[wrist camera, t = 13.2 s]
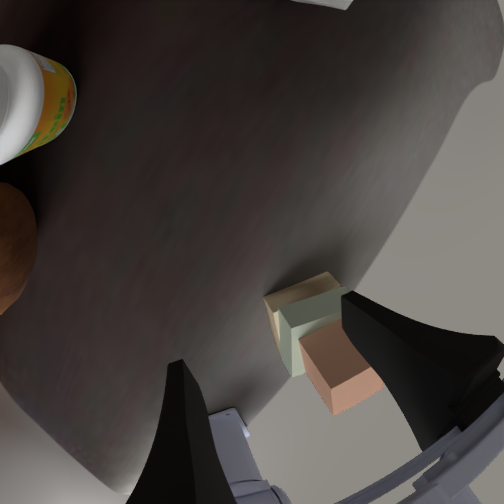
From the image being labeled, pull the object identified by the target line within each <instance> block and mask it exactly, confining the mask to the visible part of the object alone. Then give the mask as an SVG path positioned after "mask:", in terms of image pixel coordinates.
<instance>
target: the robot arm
mask: <svg viewBox="0 0 504 504" xmlns="http://www.w3.org/2000/svg"><path fill="white" fill-rule="evenodd" d="M341 316H342V329H343V330H344V332H345V333H346V335H347V337H348V338H349V340H350V341H351V343H352V344H353V346H354V347H355V348H356V349H357V351H358V352H359V353H360V354H361V355H362V357H363V358H364V359H365V360H366V361H367V363H368V364H369V365H370V366H371V367H372V368H373V370H374V371H375V372H376V373H377V374H378V376H379V377H380V378H381V379H382V381H383V382H384V383H385V385H386V386H387V388H388V390H389V391H390V393H391V394H392V396H393V397H394V399H395V400H396V402H397V404H398V406H399V407H400V409H401V411H402V412H403V414H404V416H405V418H406V420H407V422H408V423H409V425H410V427H411V429H412V431H413V433H414V435H415V437H416V439H417V442H418V444H419V446H420V448H421V450H422V451H423V452H422V453H421V454H419V455H418V456H416V457H415V458H414V459H412V460H410V461H409V462H407V463H406V464H404V465H403V466H401V467H400V468H398V469H397V470H395V471H394V472H392V473H391V474H389V475H387V476H386V477H384V478H382V479H380V480H379V481H377V482H375V483H373V484H372V485H370V486H368V487H366V488H364V489H362V490H361V491H359V492H357V493H355V494H353V495H351V496H349V497H347V498H345V499H343V500H341V501H339V502H337V503H335V504H368V503H370V502H372V501H373V500H375V499H377V498H379V497H381V496H382V495H384V494H386V493H387V492H389V491H391V490H392V489H394V488H396V487H397V486H399V485H400V484H402V483H404V482H405V481H407V480H408V479H410V478H411V477H413V476H414V475H416V474H417V473H418V472H420V471H421V470H423V469H424V468H426V467H427V466H428V465H429V464H431V463H432V462H434V461H435V460H436V459H438V458H439V457H440V456H441V457H440V460H439V461H438V462H437V463H436V464H435V465H434V466H432V467H431V468H430V469H428V470H427V471H426V472H424V473H423V475H422V476H421V477H420V478H419V479H417V480H416V481H415V482H414V483H413V487H414V488H415V489H416V491H415V492H414V493H412V494H411V495H409V496H408V497H406V498H405V499H403V500H402V501H400V502H398V503H397V504H481V502H480V501H479V500H478V498H477V497H476V495H475V494H474V493H473V491H472V490H471V489H470V487H469V486H468V485H469V484H470V483H471V482H472V481H473V480H474V479H475V478H476V477H477V476H479V474H481V473H482V472H483V471H484V469H486V467H487V466H488V465H489V464H490V463H491V462H492V461H493V460H494V459H495V458H496V457H497V456H498V455H499V454H500V452H501V451H502V450H503V449H504V378H503V380H501V379H500V378H499V376H500V372H499V371H498V370H497V368H498V366H499V364H500V362H501V361H502V359H503V357H504V344H503V343H501V341H499V340H498V339H497V338H496V337H495V336H487V335H473V334H465V333H459V332H454V331H449V330H445V329H440V328H437V327H433V326H430V325H427V324H424V323H421V322H418V321H415V320H413V319H410V318H408V317H405V316H403V315H401V314H398V313H396V312H394V311H392V310H390V309H388V308H385V307H384V306H382V305H380V304H377V303H375V302H374V301H371V300H370V299H368V298H366V297H364V296H362V295H360V294H358V293H356V292H354V291H350V292H348V293H346V294H344V295H341ZM248 436H250V433H249V431H248V429H247V428H246V426H245V424H244V423H243V421H242V419H241V417H240V416H239V414H238V412H237V411H236V409H235V408H230V409H227V410H225V411H222V412H219V413H216V414H213V415H210V416H208V413H207V409H206V405H205V402H204V399H203V396H202V393H201V390H200V387H199V385H198V383H197V382H196V380H195V378H194V377H193V375H192V374H191V372H190V370H189V369H188V367H187V366H186V364H185V362H184V361H183V359H181V360H178V361H175V362H172V363H169V364H168V367H167V378H166V386H165V393H164V399H163V404H162V410H161V414H160V419H159V423H158V428H157V431H156V435H155V438H154V442H153V445H152V448H151V451H150V454H149V456H148V459H147V462H146V464H145V467H144V469H143V471H142V473H141V476H140V478H139V480H138V482H137V484H136V486H135V488H134V490H133V492H132V493H131V495H130V497H129V499H128V500H127V502H126V504H291V501H290V499H289V498H288V496H287V494H286V493H285V492H284V491H283V490H282V489H281V488H279V487H277V486H275V485H271V486H270V485H269V483H268V480H262V477H261V475H260V472H259V470H258V468H257V465H256V463H255V460H254V458H253V455H252V453H251V450H250V448H249V445H248V443H247V440H246V437H248Z"/></svg>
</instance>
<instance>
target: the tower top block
mask: <svg viewBox="0 0 504 504" xmlns="http://www.w3.org/2000/svg"><path fill="white" fill-rule="evenodd" d="M348 292H350V290H349V289H348V288H347V287H346V286H343V287H340V288H337V289H334V290H331V291H328V292H325V293H322V294H319V295H316V296H313V297H310V298H307V299H304V300H301V301H298V302H295V303H291V304H288V305H285V306H282V307H278V317H279V334H280V351H281V359H282V361H283V363H284V365H285V366H286V368H287V370H288V372H289V374H290V375H291V377H292V378H294V377H297V376H299V375H302V374H305V373H306V372H305V367H304V363H303V359H302V354H301V350H300V345H299V341H298V339H301V338H303V337H305V336H307V335H309V334H311V333H313V332H315V331H317V330H319V329H321V328H323V327H325V326H327V325H329V324H331V323H333V322H335V321H337V320H339V319H341V318H342V316H341V295H344V294H346V293H348Z"/></svg>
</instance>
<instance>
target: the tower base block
mask: <svg viewBox="0 0 504 504" xmlns="http://www.w3.org/2000/svg"><path fill="white" fill-rule="evenodd" d="M340 287H341V284H340V283H339V282H338V281H337V280H336V279H335V278H334V277H333V276H332V275H331V274H330V273H329V272H328V271H327V272H324V273H322V274H319V275H317V276H315V277H312V278H310V279H307V280H305V281H302V282H300V283H297V284H295V285H292V286H290V287H287V288H285V289H282V290H280V291H277V292H275V293H272V294H269V295H267V296H264V297H263V298H264V302H265V306H266V310H267V314H268V318H269V322H270V326H271V330H272V334H273V338H274V342H275V345H276V347H277V348H278V350H279V352H280V354H281V351H280V334H279V317H278V307H282V306H285V305H288V304H291V303H295V302H298V301H301V300H304V299H307V298H310V297H313V296H316V295H319V294H322V293H325V292H328V291H331V290H334V289H337V288H340Z"/></svg>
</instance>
